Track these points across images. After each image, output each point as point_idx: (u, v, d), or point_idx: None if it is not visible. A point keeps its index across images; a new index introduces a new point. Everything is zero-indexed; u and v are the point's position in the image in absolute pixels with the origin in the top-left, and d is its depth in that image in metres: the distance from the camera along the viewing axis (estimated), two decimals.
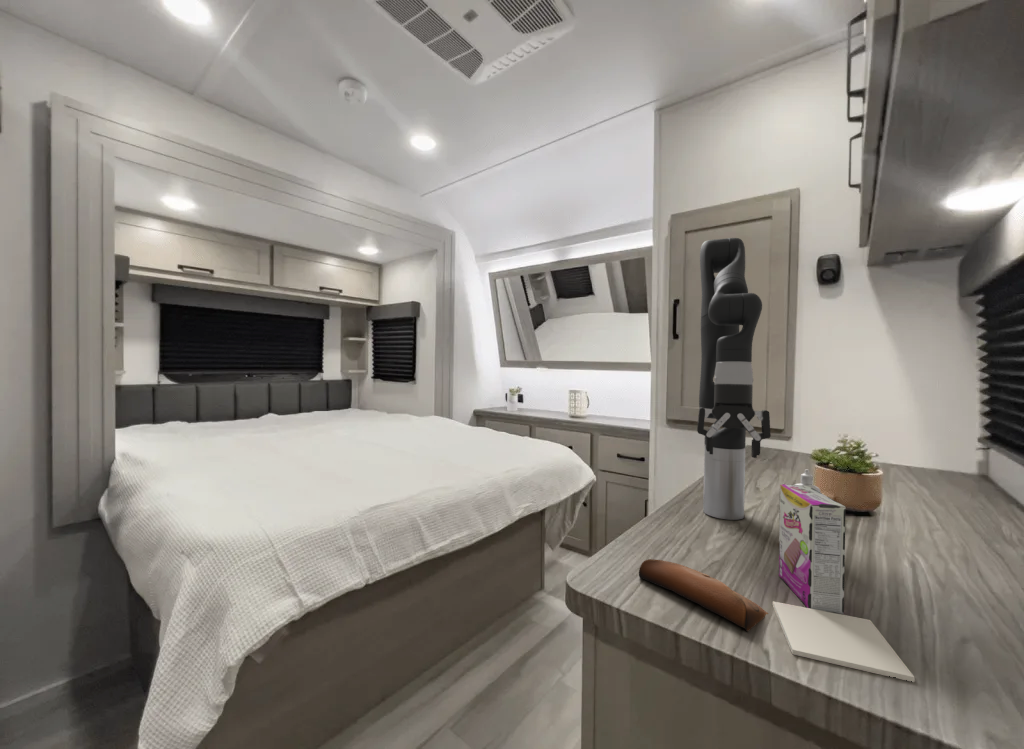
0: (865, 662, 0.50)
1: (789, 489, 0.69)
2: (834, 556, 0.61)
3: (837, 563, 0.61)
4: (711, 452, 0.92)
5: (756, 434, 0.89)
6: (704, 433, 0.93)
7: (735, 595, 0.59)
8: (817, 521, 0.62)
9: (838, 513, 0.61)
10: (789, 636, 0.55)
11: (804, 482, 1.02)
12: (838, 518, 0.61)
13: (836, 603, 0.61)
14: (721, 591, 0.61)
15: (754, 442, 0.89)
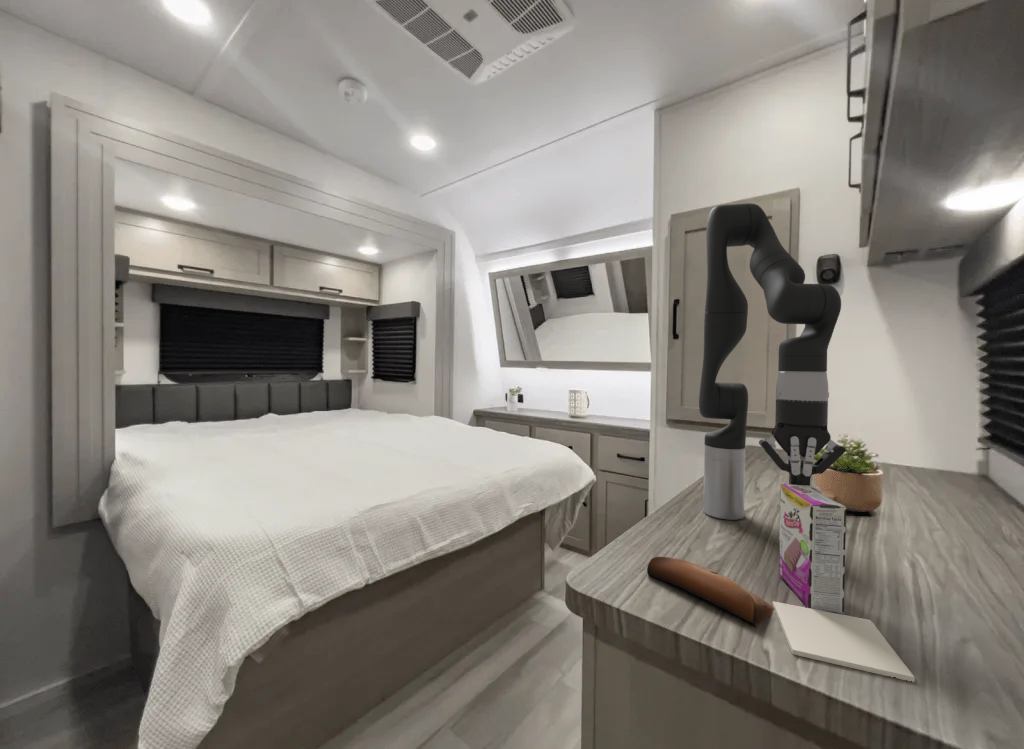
0: (865, 662, 0.50)
1: (789, 489, 0.69)
2: (835, 556, 0.61)
3: (837, 564, 0.61)
4: None
5: (809, 469, 0.71)
6: (788, 469, 0.73)
7: (743, 591, 0.60)
8: (817, 521, 0.61)
9: (839, 513, 0.61)
10: (789, 636, 0.55)
11: None
12: (839, 518, 0.61)
13: (836, 603, 0.61)
14: (730, 587, 0.62)
15: (802, 478, 0.72)
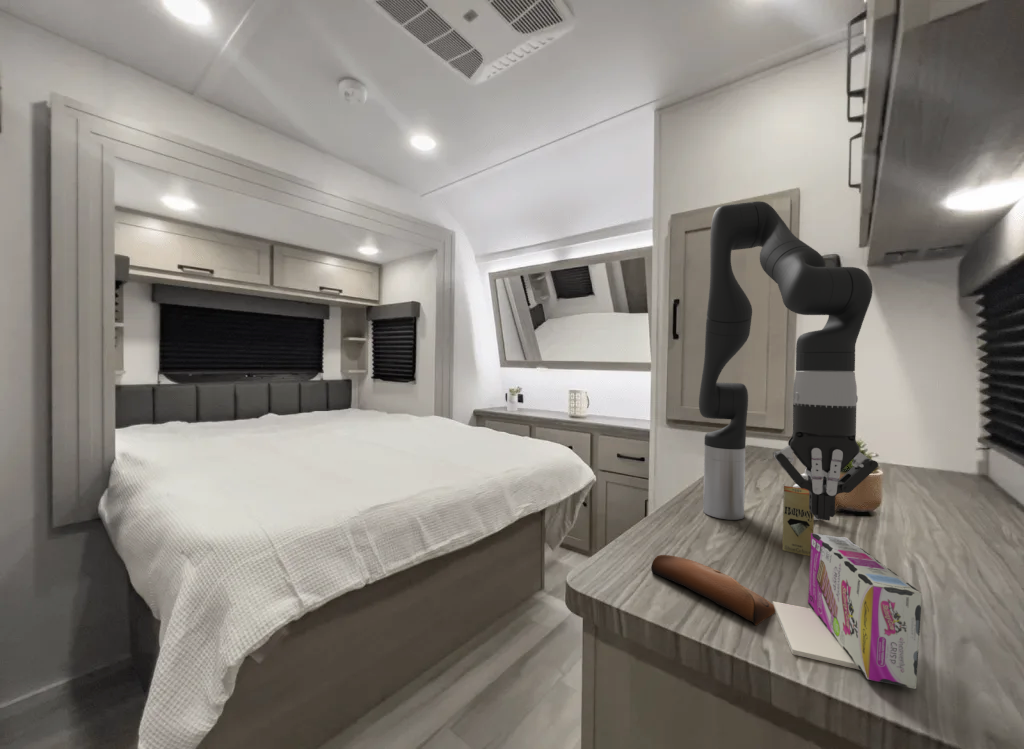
0: None
1: (874, 613, 0.47)
2: None
3: None
4: (821, 517, 0.61)
5: (834, 487, 0.60)
6: (809, 487, 0.61)
7: (744, 590, 0.61)
8: None
9: None
10: (789, 636, 0.55)
11: None
12: None
13: None
14: (731, 586, 0.62)
15: (826, 498, 0.60)
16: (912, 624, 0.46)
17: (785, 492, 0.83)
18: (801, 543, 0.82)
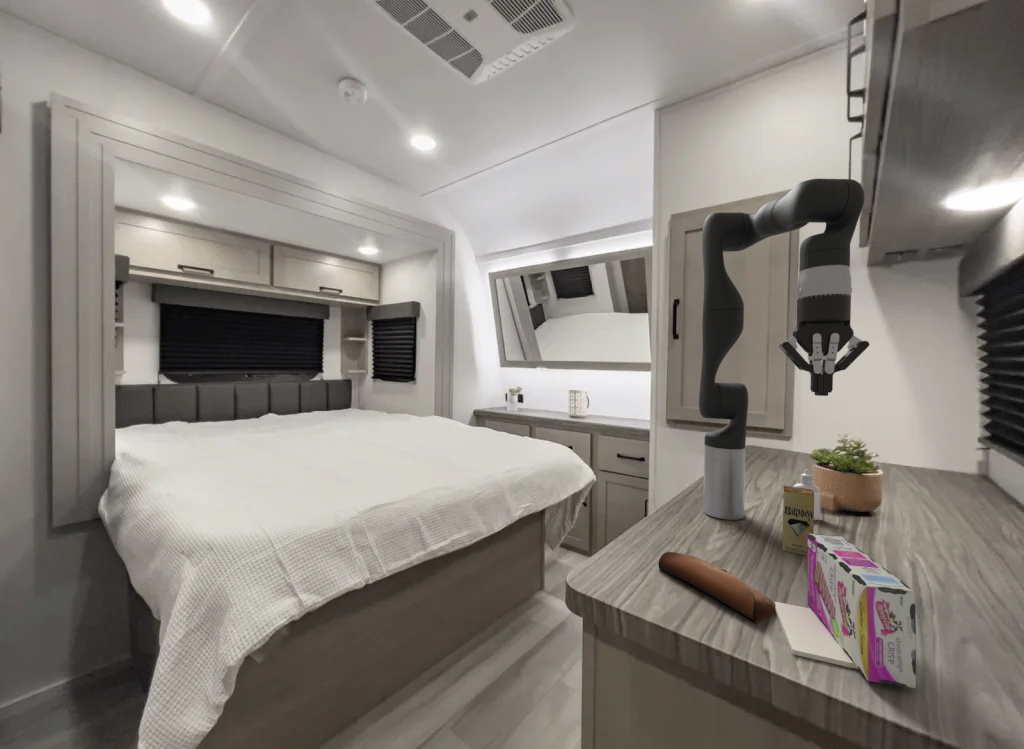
0: None
1: (869, 613, 0.47)
2: None
3: None
4: (820, 392, 0.71)
5: (831, 366, 0.70)
6: (810, 369, 0.72)
7: (746, 588, 0.61)
8: None
9: None
10: (789, 636, 0.55)
11: (804, 481, 1.02)
12: None
13: None
14: (733, 584, 0.63)
15: (825, 376, 0.71)
16: (908, 623, 0.46)
17: (785, 492, 0.83)
18: (801, 543, 0.82)
